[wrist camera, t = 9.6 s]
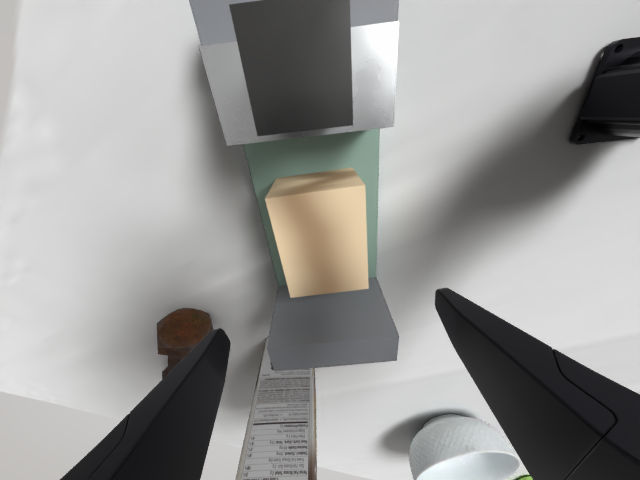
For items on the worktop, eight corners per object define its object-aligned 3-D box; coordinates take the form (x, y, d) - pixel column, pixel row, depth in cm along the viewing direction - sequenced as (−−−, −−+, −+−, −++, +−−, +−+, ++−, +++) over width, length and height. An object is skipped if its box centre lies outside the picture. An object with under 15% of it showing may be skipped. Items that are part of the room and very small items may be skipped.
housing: (352, 167, 18) (365, 184, 13) (357, 253, 22) (368, 288, 17) (276, 177, 18) (264, 198, 14) (295, 261, 22) (290, 297, 17)
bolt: (189, 366, 35) (194, 299, 28) (212, 387, 34) (224, 323, 26) (147, 400, 30) (141, 329, 23) (172, 427, 29) (174, 361, 21)
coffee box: (316, 375, 34) (318, 563, 20) (272, 377, 34) (243, 567, 19) (314, 334, 29) (316, 539, 15) (264, 336, 29) (219, 544, 15)
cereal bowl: (468, 443, 47) (492, 493, 41) (390, 443, 46) (403, 494, 40) (508, 400, 39) (545, 454, 33) (414, 399, 38) (434, 454, 32)
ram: (374, 47, 14) (479, -66, 5) (373, 123, 16) (447, 135, 7) (230, 64, 14) (97, -14, 5) (247, 138, 16) (171, 166, 7)
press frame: (376, -4, 14) (447, -135, 7) (372, 289, 26) (396, 360, 18) (218, 16, 14) (118, -88, 7) (285, 297, 26) (274, 371, 19)
